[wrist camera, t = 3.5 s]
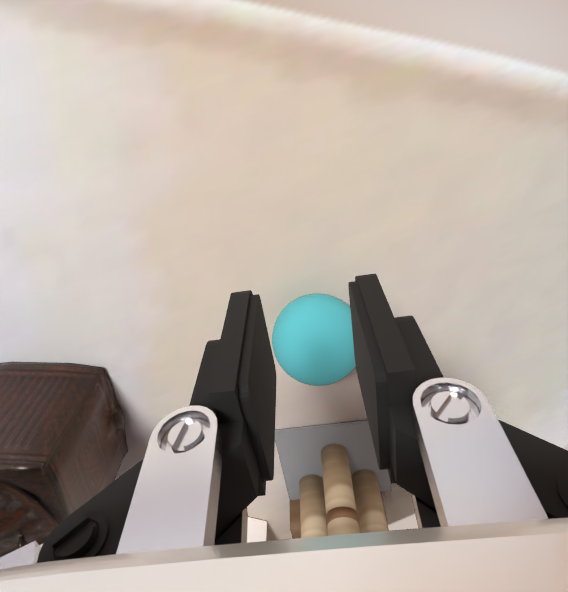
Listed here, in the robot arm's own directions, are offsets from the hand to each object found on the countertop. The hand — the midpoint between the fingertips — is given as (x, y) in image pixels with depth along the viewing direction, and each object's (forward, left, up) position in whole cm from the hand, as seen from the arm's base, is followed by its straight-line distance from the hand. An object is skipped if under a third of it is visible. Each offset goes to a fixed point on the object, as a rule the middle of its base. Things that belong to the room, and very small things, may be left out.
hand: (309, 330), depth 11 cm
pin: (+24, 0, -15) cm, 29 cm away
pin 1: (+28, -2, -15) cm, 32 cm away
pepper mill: (+13, -22, -15) cm, 30 cm away
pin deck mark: (+26, 0, -15) cm, 30 cm away
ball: (+9, 0, -12) cm, 15 cm away
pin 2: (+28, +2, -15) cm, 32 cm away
